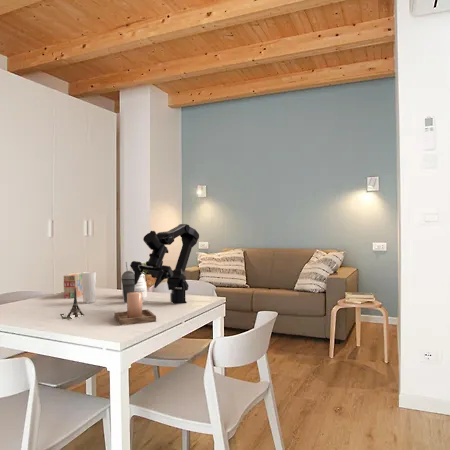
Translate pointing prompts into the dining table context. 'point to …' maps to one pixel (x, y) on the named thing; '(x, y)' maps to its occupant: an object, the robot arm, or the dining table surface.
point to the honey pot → (139, 286)
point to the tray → (123, 320)
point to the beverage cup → (127, 283)
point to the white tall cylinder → (88, 286)
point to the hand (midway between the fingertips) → (144, 286)
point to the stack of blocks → (73, 285)
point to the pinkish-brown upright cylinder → (134, 304)
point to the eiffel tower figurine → (73, 308)
